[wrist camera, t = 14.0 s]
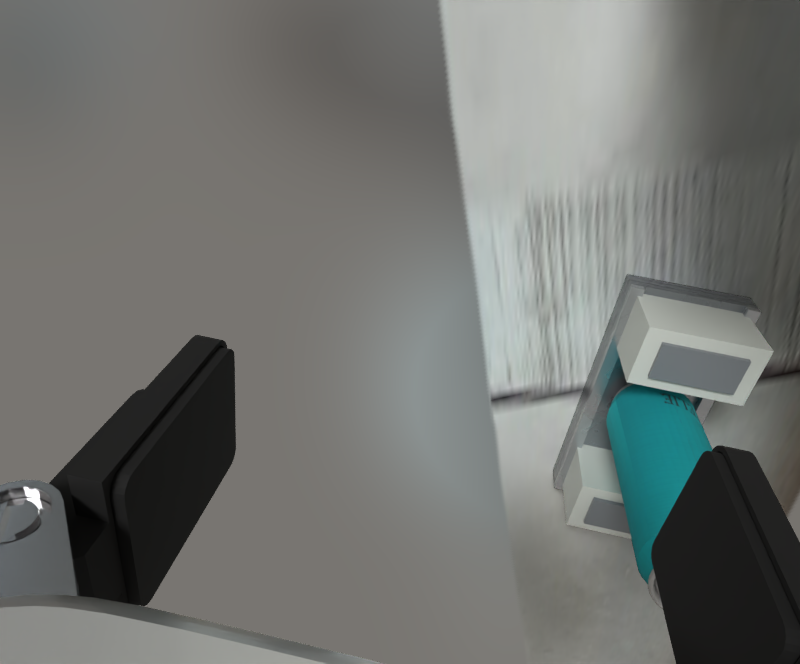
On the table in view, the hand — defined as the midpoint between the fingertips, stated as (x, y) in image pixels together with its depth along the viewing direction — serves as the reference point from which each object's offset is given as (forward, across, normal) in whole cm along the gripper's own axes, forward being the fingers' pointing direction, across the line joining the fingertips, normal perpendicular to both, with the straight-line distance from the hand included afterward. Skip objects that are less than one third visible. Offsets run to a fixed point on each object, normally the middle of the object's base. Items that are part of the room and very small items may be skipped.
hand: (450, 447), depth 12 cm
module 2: (+27, -14, +9) cm, 32 cm away
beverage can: (+27, -14, +16) cm, 34 cm away
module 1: (+27, -15, +22) cm, 38 cm away
